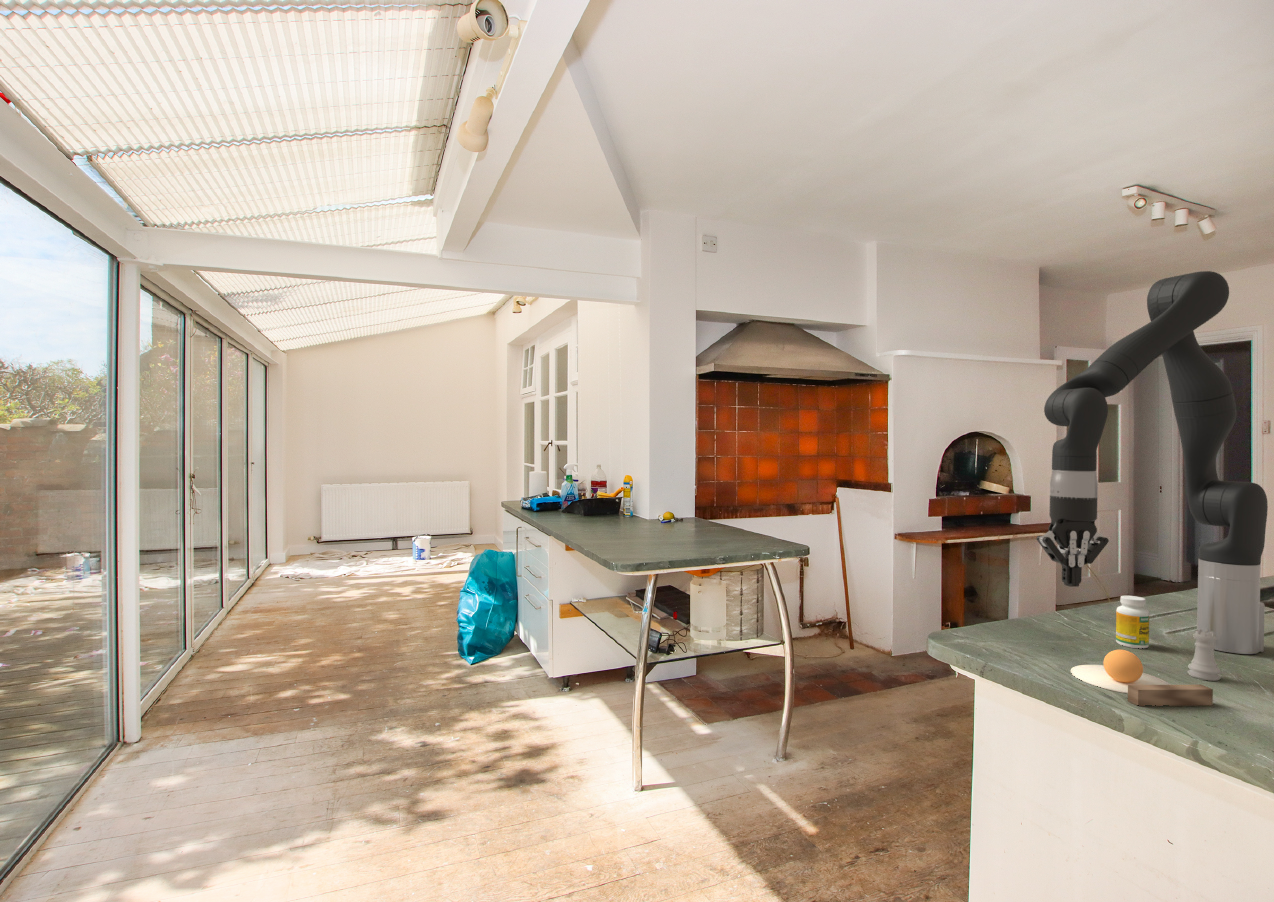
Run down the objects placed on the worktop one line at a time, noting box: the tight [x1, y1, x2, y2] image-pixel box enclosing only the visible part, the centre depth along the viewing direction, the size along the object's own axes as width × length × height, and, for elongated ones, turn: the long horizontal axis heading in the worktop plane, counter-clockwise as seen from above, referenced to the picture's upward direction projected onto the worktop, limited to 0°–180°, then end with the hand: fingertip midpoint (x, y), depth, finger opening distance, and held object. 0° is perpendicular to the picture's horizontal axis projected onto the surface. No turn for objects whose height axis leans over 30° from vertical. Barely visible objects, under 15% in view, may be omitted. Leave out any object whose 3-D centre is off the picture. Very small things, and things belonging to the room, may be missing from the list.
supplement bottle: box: [1115, 595, 1150, 650], centre depth 132 cm, size 5×5×10 cm
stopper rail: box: [1127, 684, 1214, 707], centre depth 102 cm, size 12×2×2 cm, turn 93°
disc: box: [1070, 664, 1171, 694], centre depth 112 cm, size 14×14×1 cm
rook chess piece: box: [1187, 629, 1222, 682], centre depth 114 cm, size 4×4×8 cm
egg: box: [1102, 649, 1144, 683], centre depth 111 cm, size 5×5×5 cm
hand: (1071, 585), depth 124 cm, fingers closed
